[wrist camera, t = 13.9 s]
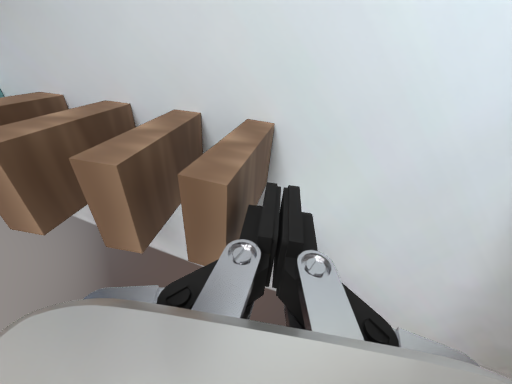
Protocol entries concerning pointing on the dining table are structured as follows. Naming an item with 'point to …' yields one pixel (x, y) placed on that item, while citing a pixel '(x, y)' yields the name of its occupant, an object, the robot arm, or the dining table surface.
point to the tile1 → (224, 189)
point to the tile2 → (138, 177)
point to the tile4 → (29, 106)
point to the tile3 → (52, 162)
